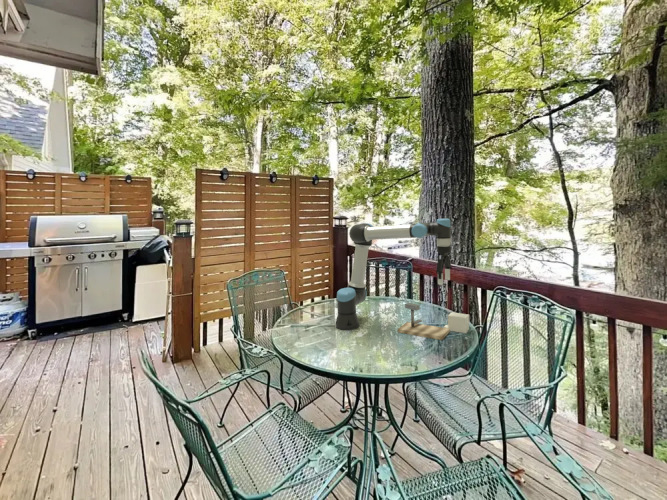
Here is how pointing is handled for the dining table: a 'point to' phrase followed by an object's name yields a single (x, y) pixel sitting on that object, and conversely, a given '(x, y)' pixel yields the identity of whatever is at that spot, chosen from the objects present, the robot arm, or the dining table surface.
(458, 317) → the cream rectangular block
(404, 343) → the dining table surface
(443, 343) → the dining table surface
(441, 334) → the base plate
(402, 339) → the dining table surface
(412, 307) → the t key
